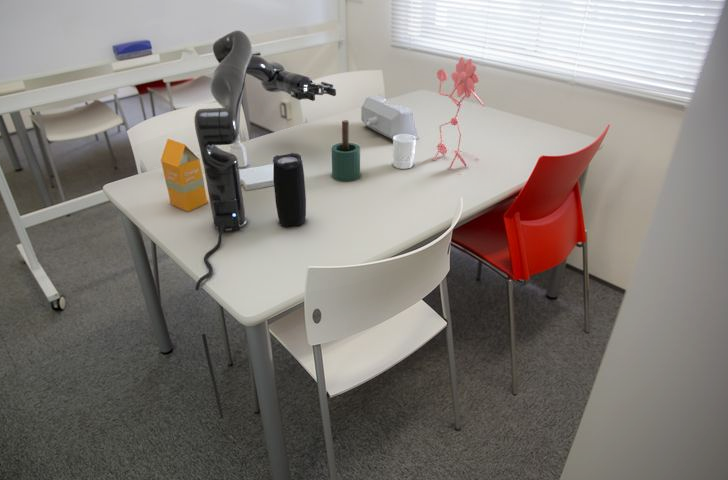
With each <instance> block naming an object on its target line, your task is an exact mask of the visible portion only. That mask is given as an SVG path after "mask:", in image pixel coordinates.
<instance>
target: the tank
mask: <svg viewBox="0 0 728 480" xmlns="http://www.w3.org/2000/svg"><path fill="white" fill-rule="evenodd" d="M386 100H387V99H386V98H385V97H383V96H380V95H378V94H376V95H369V96H366V98H365V99H364V102H363V103H362V105H361V108H360V110H361V112H360V116H361V117H360V119H361V122H362V123H363V124H364V125H365V126H366V127H367V128H369V129H370V130H372V131H375V132H377V133H378V134H380V135H382V136H384V137H385V138H388V139H390V140H392V141H393V137H394V136H396V135H399V134H409V135H413V136H415V137H416V139H418V138H419V135H418V131H417V127H416V123H415V120H414V115H413V112H412V110H411V109H410V108H408V107H406V106H404V105H401V104H397V103H396V104H389V103H385V101H386ZM417 136H418V137H417Z"/></svg>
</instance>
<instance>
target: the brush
mask: <svg viewBox="0 0 728 480" xmlns="http://www.w3.org/2000/svg"><path fill="white" fill-rule="evenodd" d="M341 143H342V151H349V143H350V121H349V120H346V119H345V120H344V119H343V120H342V121H341Z"/></svg>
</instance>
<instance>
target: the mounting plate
mask: <svg viewBox="0 0 728 480" xmlns="http://www.w3.org/2000/svg"><path fill="white" fill-rule="evenodd" d="M273 166H274V163H271V164H265V165H260V166H253V167H248V168H243V169H241V168H240V169H239V173H240V180H241V186H243V187H244V188H245V190H246V191H251V190H256V189H262V188H267V187H274V181H273Z"/></svg>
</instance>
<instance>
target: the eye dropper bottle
mask: <svg viewBox="0 0 728 480" xmlns="http://www.w3.org/2000/svg"><path fill="white" fill-rule="evenodd" d="M229 153H232V154H234V155H235V156H236V157H237V159H238V165H239V168H240V169H241V168H243V169H244V168H246V167H247V166H248V159H247V151H246V146H245V144H243V143H242V142H241V139H240V136H238V139H237V141H236V142H235V143H234V144H230V145H229Z"/></svg>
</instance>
